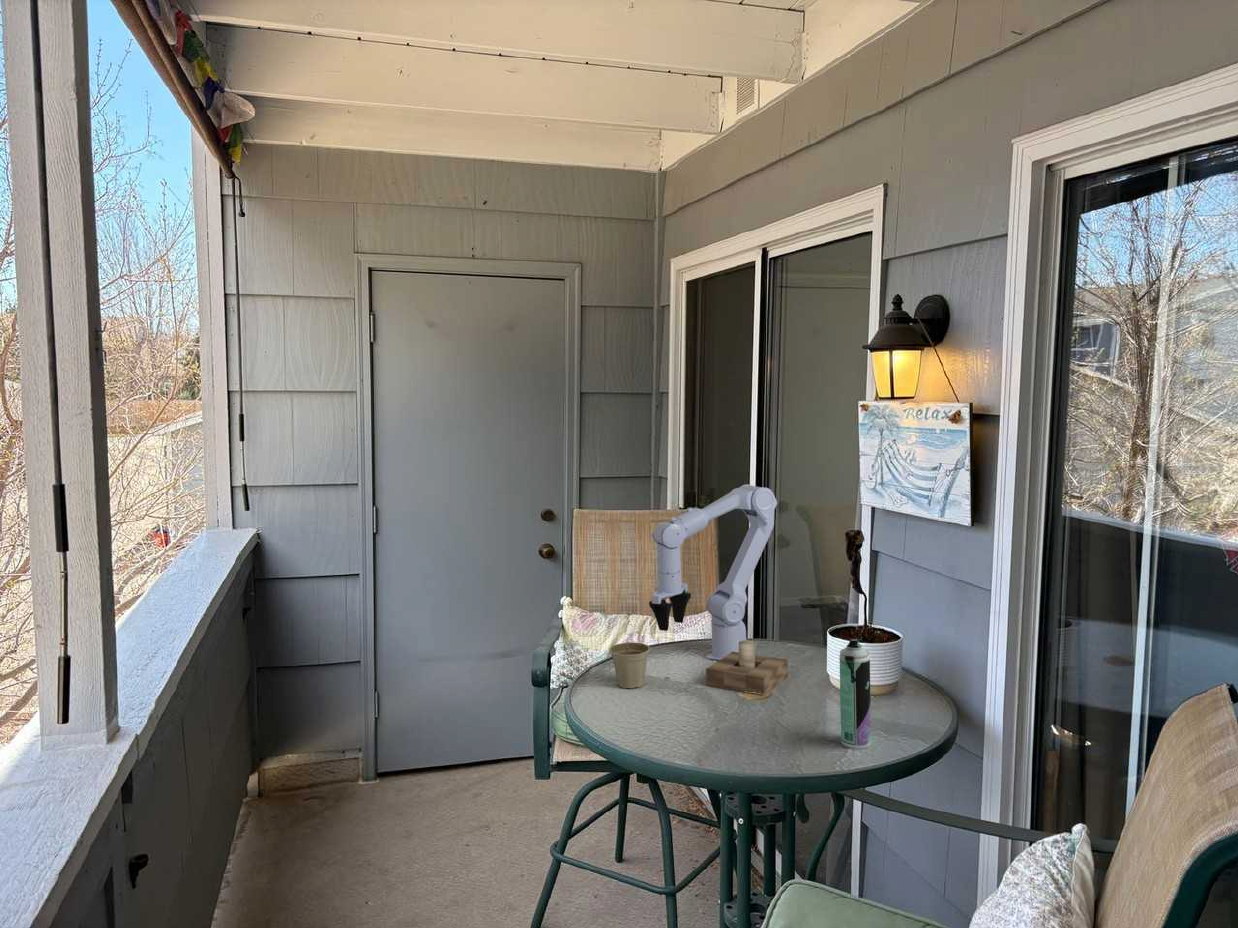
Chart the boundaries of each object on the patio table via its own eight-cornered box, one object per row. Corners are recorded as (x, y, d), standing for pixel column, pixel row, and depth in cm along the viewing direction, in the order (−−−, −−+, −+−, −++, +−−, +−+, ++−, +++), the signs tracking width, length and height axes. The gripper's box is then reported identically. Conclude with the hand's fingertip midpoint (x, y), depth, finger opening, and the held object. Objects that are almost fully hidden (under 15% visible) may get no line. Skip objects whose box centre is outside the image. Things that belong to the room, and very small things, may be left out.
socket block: (733, 667, 204) (732, 651, 204) (787, 676, 197) (787, 659, 196) (706, 685, 193) (706, 668, 192) (764, 695, 185) (763, 677, 185)
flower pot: (651, 691, 191) (650, 653, 190) (610, 692, 191) (608, 655, 190) (651, 677, 200) (649, 641, 199) (611, 678, 200) (609, 642, 200)
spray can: (872, 749, 156) (870, 644, 154) (841, 748, 157) (839, 643, 155) (869, 737, 161) (868, 635, 159) (840, 736, 162) (838, 634, 161)
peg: (741, 673, 197) (740, 640, 196) (756, 674, 196) (755, 640, 195) (738, 678, 194) (737, 644, 193) (753, 679, 192) (752, 645, 192)
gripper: (669, 564, 214) (671, 616, 215) (639, 576, 202) (642, 631, 203) (694, 566, 210) (696, 620, 211) (665, 578, 198) (667, 635, 199)
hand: (671, 626), depth 207 cm, fingers open, 7 cm apart
